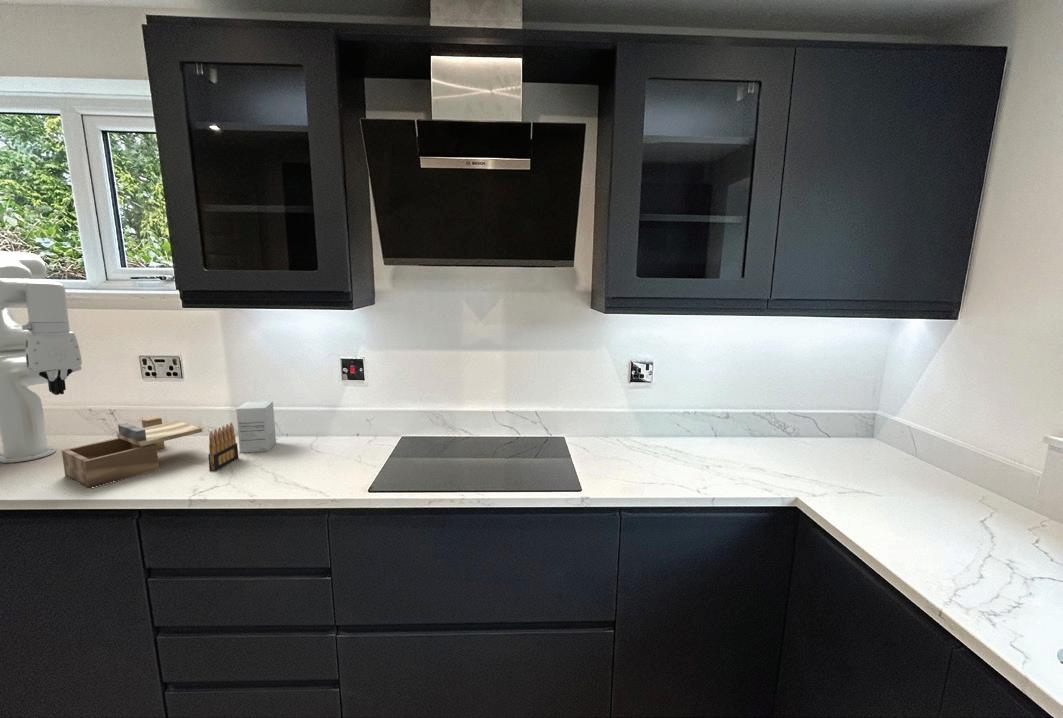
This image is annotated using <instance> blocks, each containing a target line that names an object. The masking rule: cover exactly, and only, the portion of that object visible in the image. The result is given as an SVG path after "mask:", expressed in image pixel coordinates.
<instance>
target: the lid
mask: <svg viewBox="0 0 1063 718" xmlns="http://www.w3.org/2000/svg"><path fill="white" fill-rule="evenodd" d="M117 425H118V426H117V427H118V433H116V435H117V437H116V438H120V439H123V440H125V441H128V442H130V443H133V444H136V445H138V446H141V447H142V446H146V445H150V444H154V443H158V442H162V441H164V442H166V441H171V440H174V439H180V438H182V437H187V436H191V435H196V434H200V433H203V429H202V427H198V426H196V425H193V424H192V425H191V424H189V423H186V422H181V421H179V420H175V421H170V422H165V423H162V424H160V425H155V426H151V427H146V428H142V427H138V426H135V425H133V424H129V423H127V422H126V423H120V424H117Z"/></svg>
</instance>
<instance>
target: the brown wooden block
mask: <svg viewBox="0 0 1063 718" xmlns="http://www.w3.org/2000/svg"><path fill="white" fill-rule="evenodd" d="M160 424H163V419H162V418H161V417H159V416H151V417H146V418H142V419H141V425H142V426H141V428H146V427H151V426H155V425H160ZM154 444H157V450H159V448H160V449H163V448H165V441H162V442H158V443H154Z"/></svg>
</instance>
